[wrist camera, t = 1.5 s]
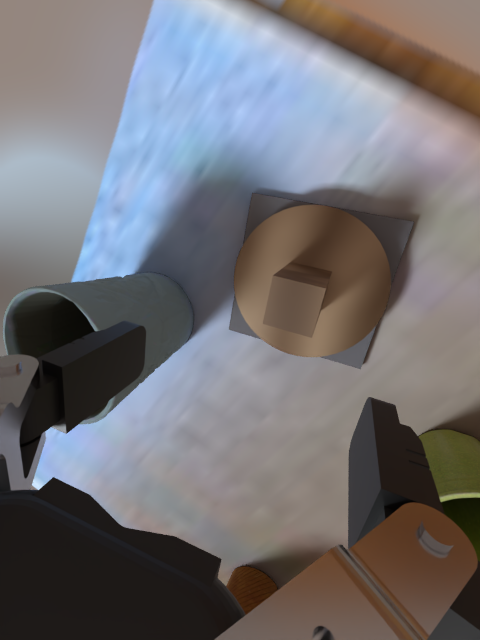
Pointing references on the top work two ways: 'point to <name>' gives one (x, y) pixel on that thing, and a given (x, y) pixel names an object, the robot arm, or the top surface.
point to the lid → (312, 280)
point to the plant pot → (456, 478)
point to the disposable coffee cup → (250, 587)
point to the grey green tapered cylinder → (100, 319)
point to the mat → (384, 228)
